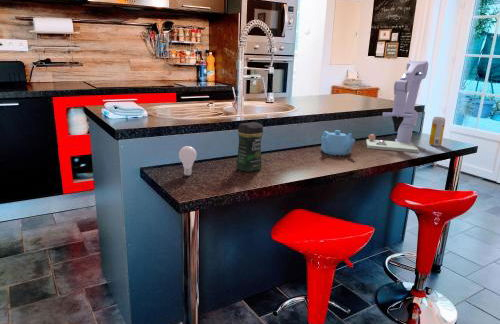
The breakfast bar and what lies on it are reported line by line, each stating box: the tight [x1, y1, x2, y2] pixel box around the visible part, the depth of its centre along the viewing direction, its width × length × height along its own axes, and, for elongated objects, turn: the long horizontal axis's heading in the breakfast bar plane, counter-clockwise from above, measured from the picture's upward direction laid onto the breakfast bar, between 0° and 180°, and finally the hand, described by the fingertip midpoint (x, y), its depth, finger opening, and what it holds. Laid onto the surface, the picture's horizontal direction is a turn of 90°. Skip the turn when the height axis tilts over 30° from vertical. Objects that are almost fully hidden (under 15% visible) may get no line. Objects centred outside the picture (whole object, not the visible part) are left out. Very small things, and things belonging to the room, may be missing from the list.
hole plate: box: [365, 138, 419, 154], centre depth 200 cm, size 16×24×2 cm, turn 76°
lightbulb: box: [178, 145, 198, 177], centre depth 139 cm, size 6×6×11 cm
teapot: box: [320, 129, 356, 157], centre depth 182 cm, size 15×15×11 cm
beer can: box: [428, 116, 446, 147], centre depth 207 cm, size 6×6×15 cm
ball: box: [368, 133, 376, 141], centre depth 206 cm, size 4×4×4 cm
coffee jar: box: [235, 121, 264, 173], centre depth 149 cm, size 10×8×19 cm
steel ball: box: [378, 139, 386, 145], centre depth 199 cm, size 4×4×4 cm
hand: (395, 131), depth 196 cm, fingers closed
